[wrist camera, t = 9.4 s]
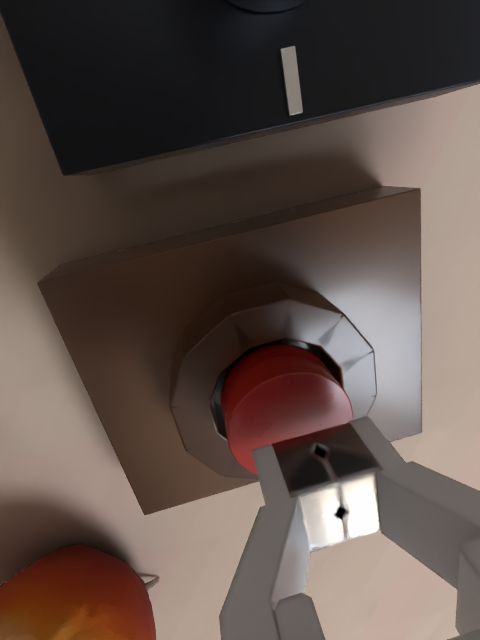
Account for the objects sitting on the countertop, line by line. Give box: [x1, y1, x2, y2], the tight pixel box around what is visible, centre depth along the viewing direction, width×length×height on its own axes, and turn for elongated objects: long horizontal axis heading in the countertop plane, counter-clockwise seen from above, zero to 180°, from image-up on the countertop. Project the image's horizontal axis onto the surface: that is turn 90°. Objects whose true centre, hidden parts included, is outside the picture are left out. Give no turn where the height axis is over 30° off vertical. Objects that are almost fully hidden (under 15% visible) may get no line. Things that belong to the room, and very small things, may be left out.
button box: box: [38, 186, 422, 515], centre depth 13 cm, size 12×10×4 cm
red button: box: [220, 344, 353, 475], centre depth 11 cm, size 4×4×2 cm
